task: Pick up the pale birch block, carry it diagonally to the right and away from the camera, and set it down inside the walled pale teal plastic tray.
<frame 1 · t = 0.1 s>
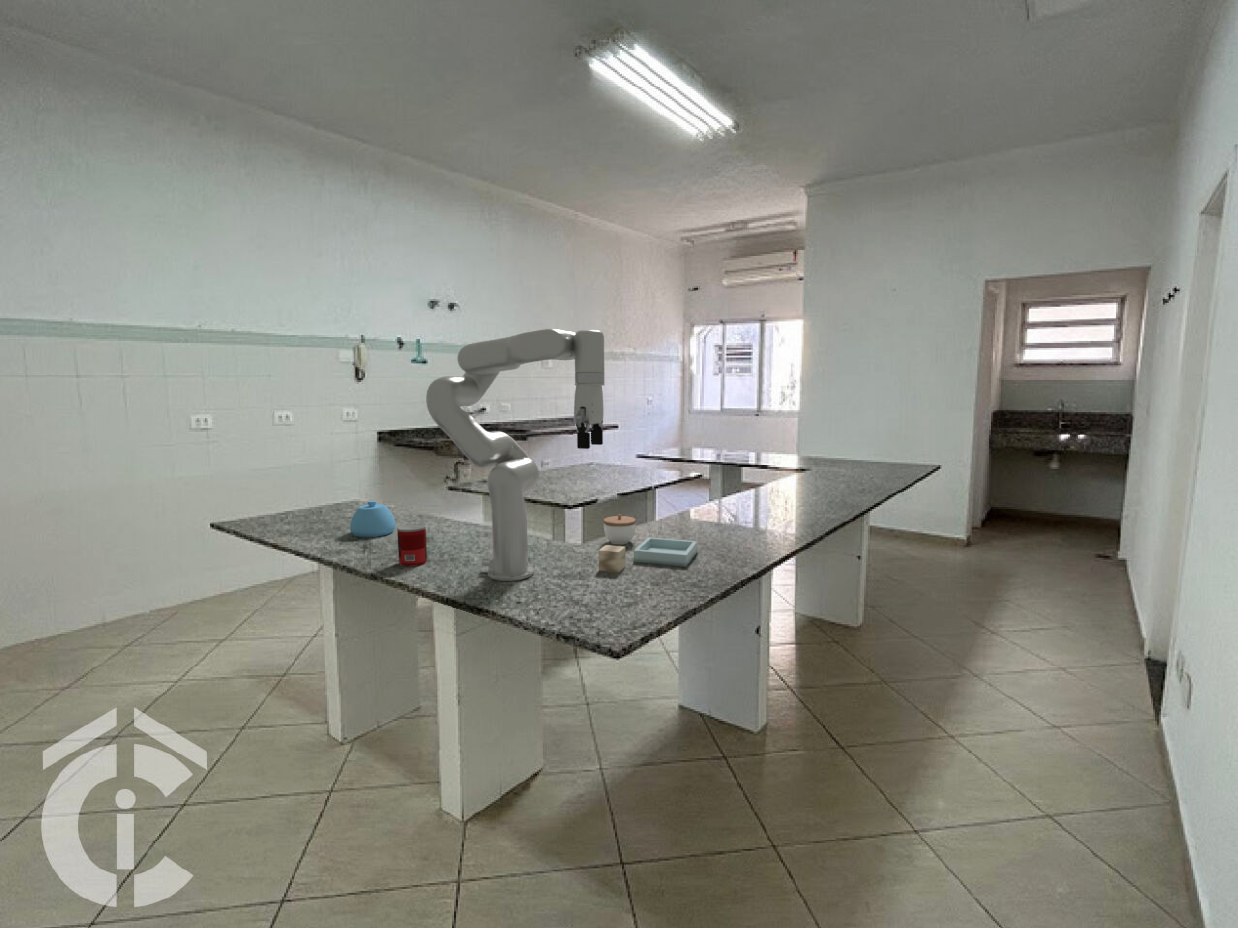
hand: (590, 446, 160), 37 cm above the countertop, tool pointing down, fingers open, 9 cm apart
sugar bowl: (373, 533, 219), on the countertop
birch block: (612, 568, 178), on the countertop
teal tray: (666, 556, 189), on the countertop
lidded jar: (619, 542, 206), on the countertop
canned food: (413, 563, 184), on the countertop
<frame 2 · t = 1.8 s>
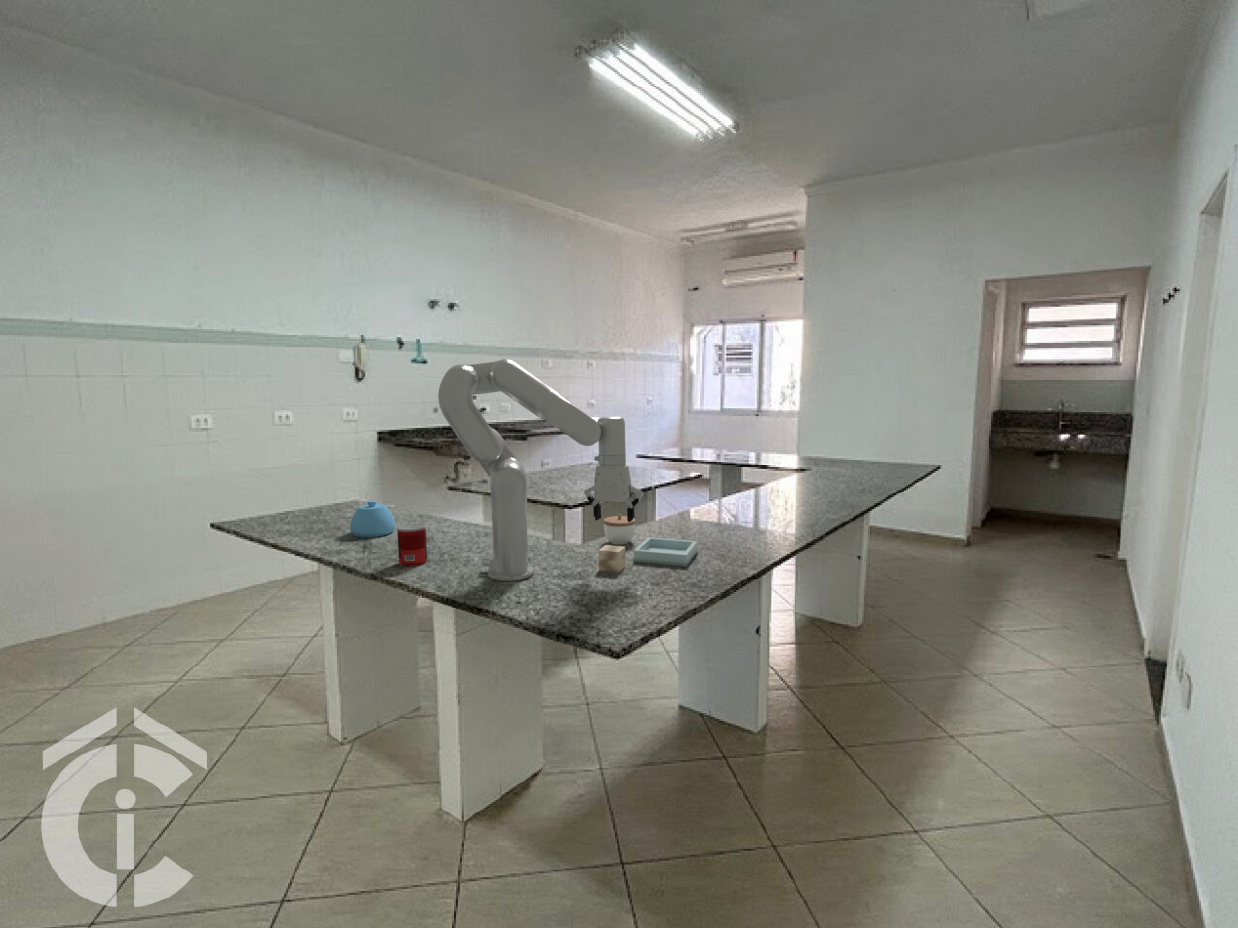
hand: (614, 520, 176), 14 cm above the countertop, tool pointing down, fingers open, 9 cm apart
nothing on the countertop moved.
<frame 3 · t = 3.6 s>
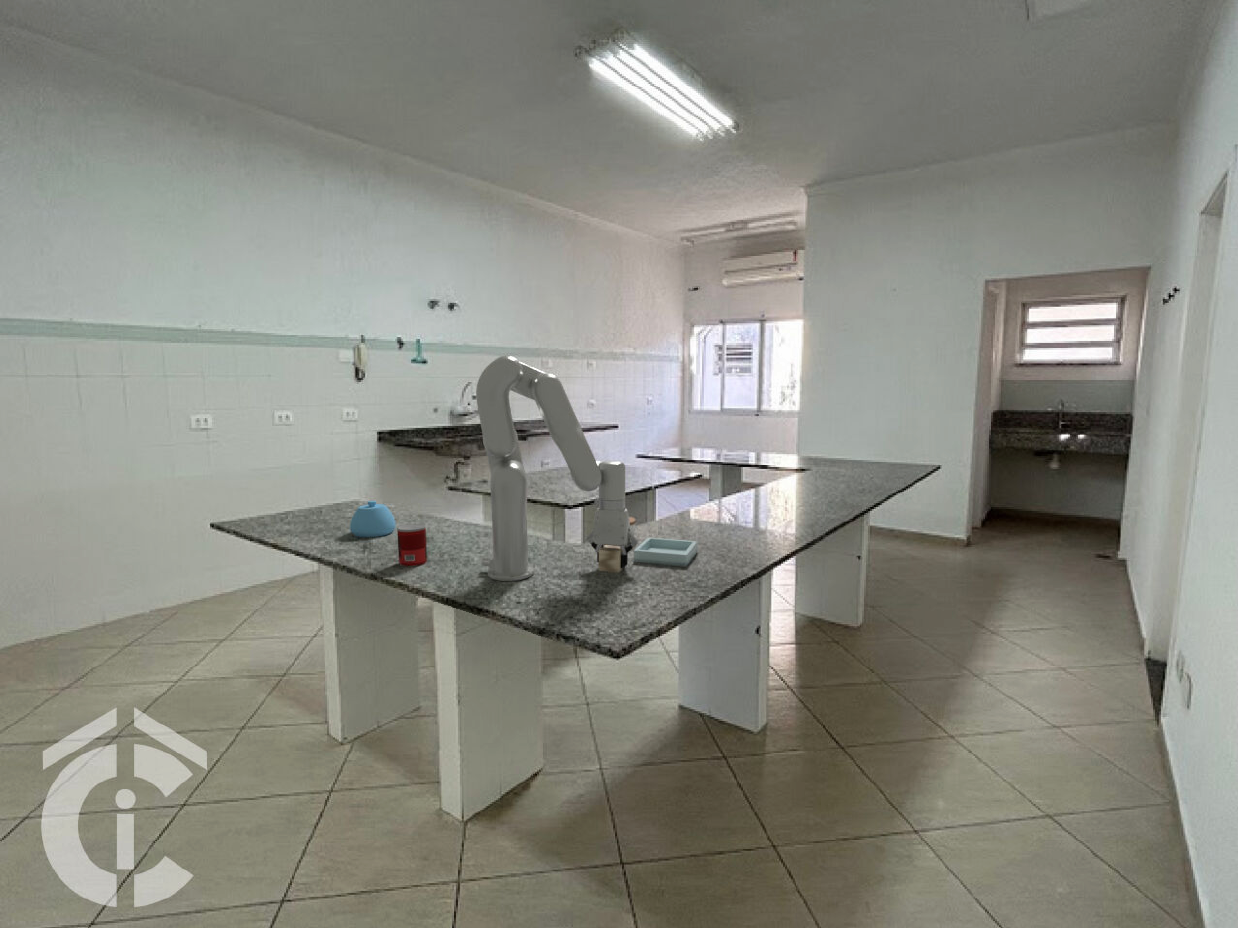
hand: (612, 565, 178), 1 cm above the countertop, tool pointing down, fingers closed on birch block, 6 cm apart
birch block: (612, 568, 178), on the countertop, touching gripper
everything else where it was.
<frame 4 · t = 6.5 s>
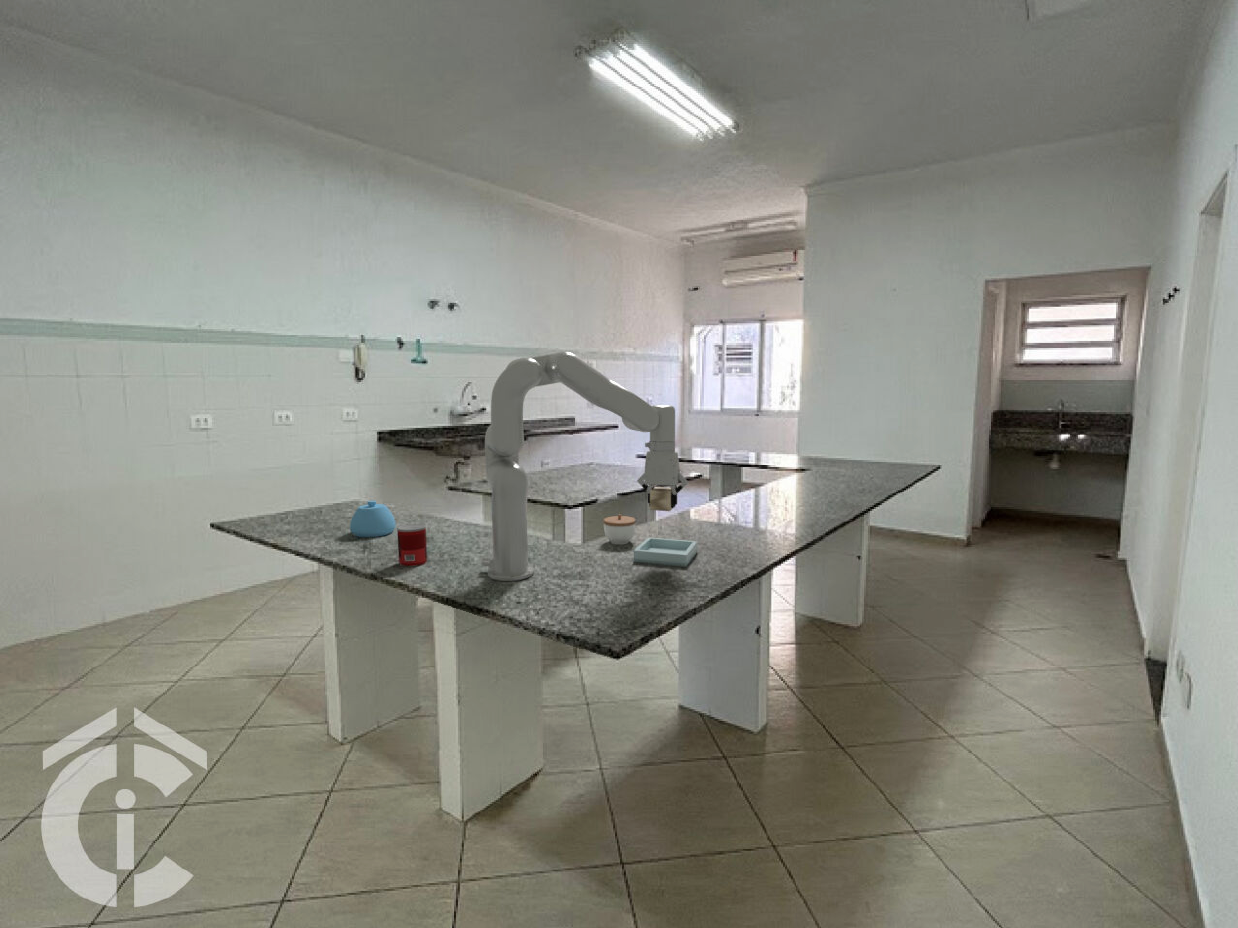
hand: (662, 505, 186), 16 cm above the countertop, tool pointing down, fingers closed on birch block, 6 cm apart
birch block: (662, 508, 186), point 15 cm above the countertop, touching gripper
everything else where it was.
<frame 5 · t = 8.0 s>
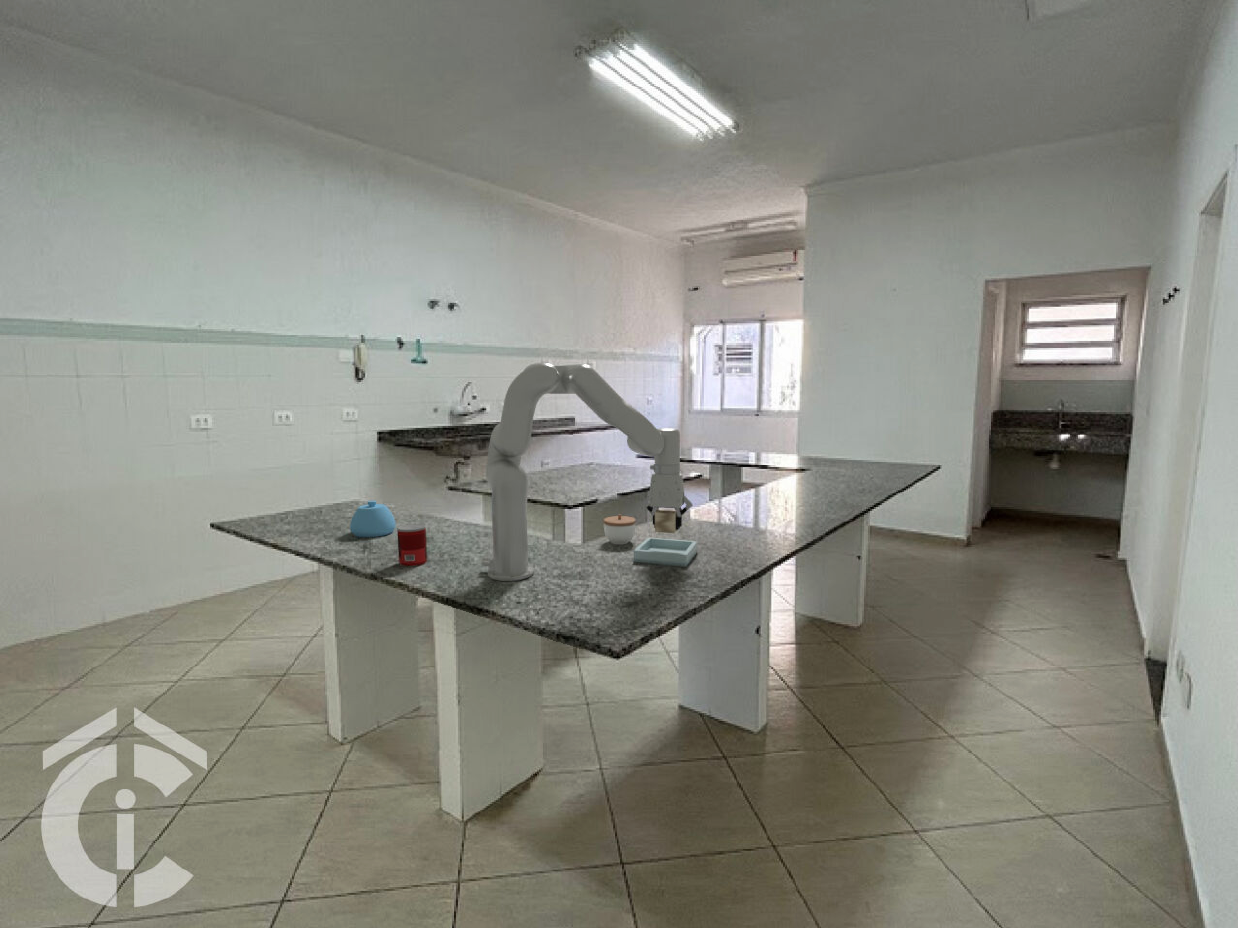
hand: (667, 527, 188), 9 cm above the countertop, tool pointing down, fingers closed on birch block, 6 cm apart
birch block: (667, 530, 188), point 8 cm above the countertop, touching gripper
everything else where it was.
when the fingers open (4 cm above the countertop, at t = 9.4 s): birch block drops 2 cm, resting on teal tray.
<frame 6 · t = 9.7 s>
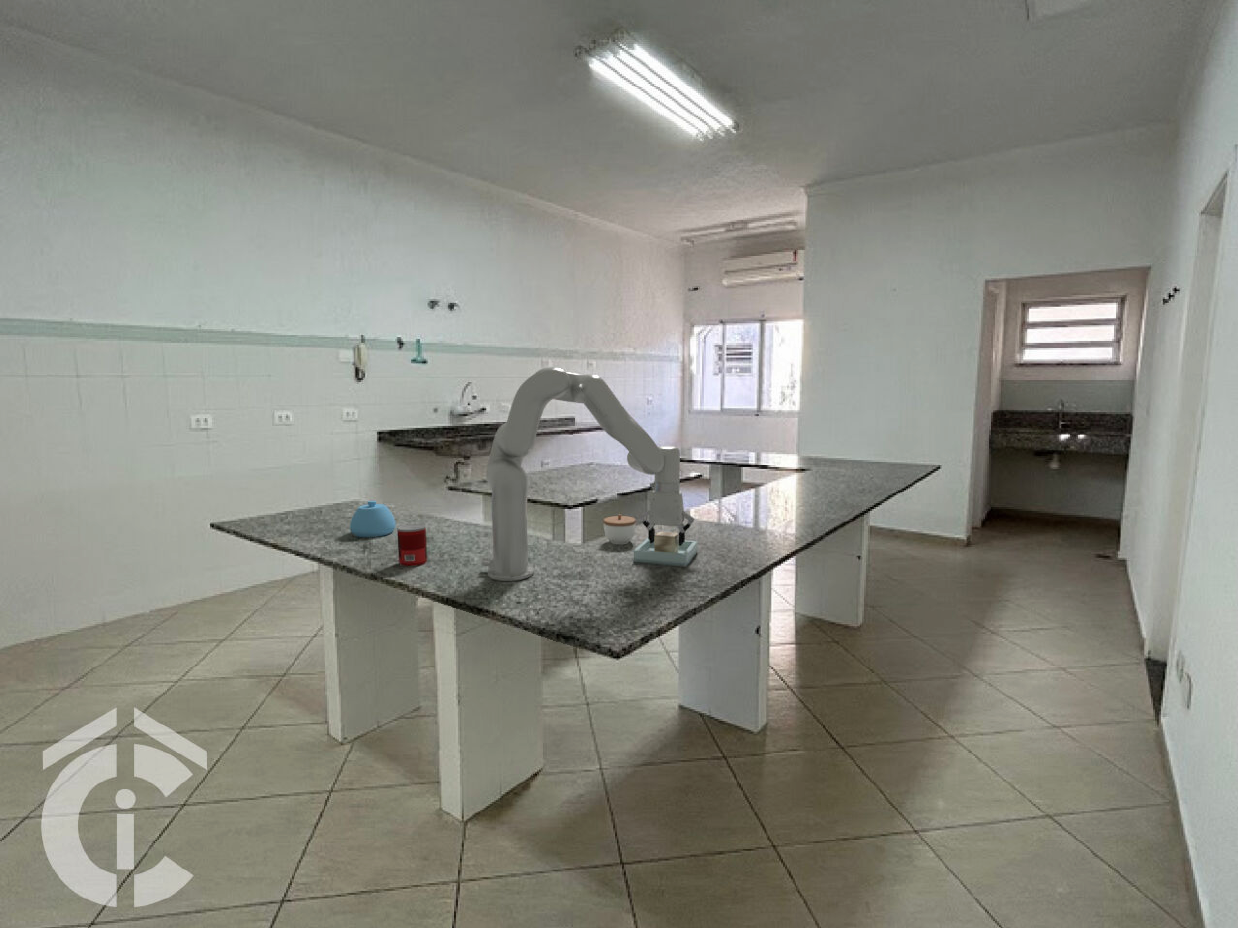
hand: (666, 543, 188), 4 cm above the countertop, tool pointing down, fingers open, 8 cm apart
birch block: (666, 553, 189), point 1 cm above the countertop, touching teal tray
everything else where it was.
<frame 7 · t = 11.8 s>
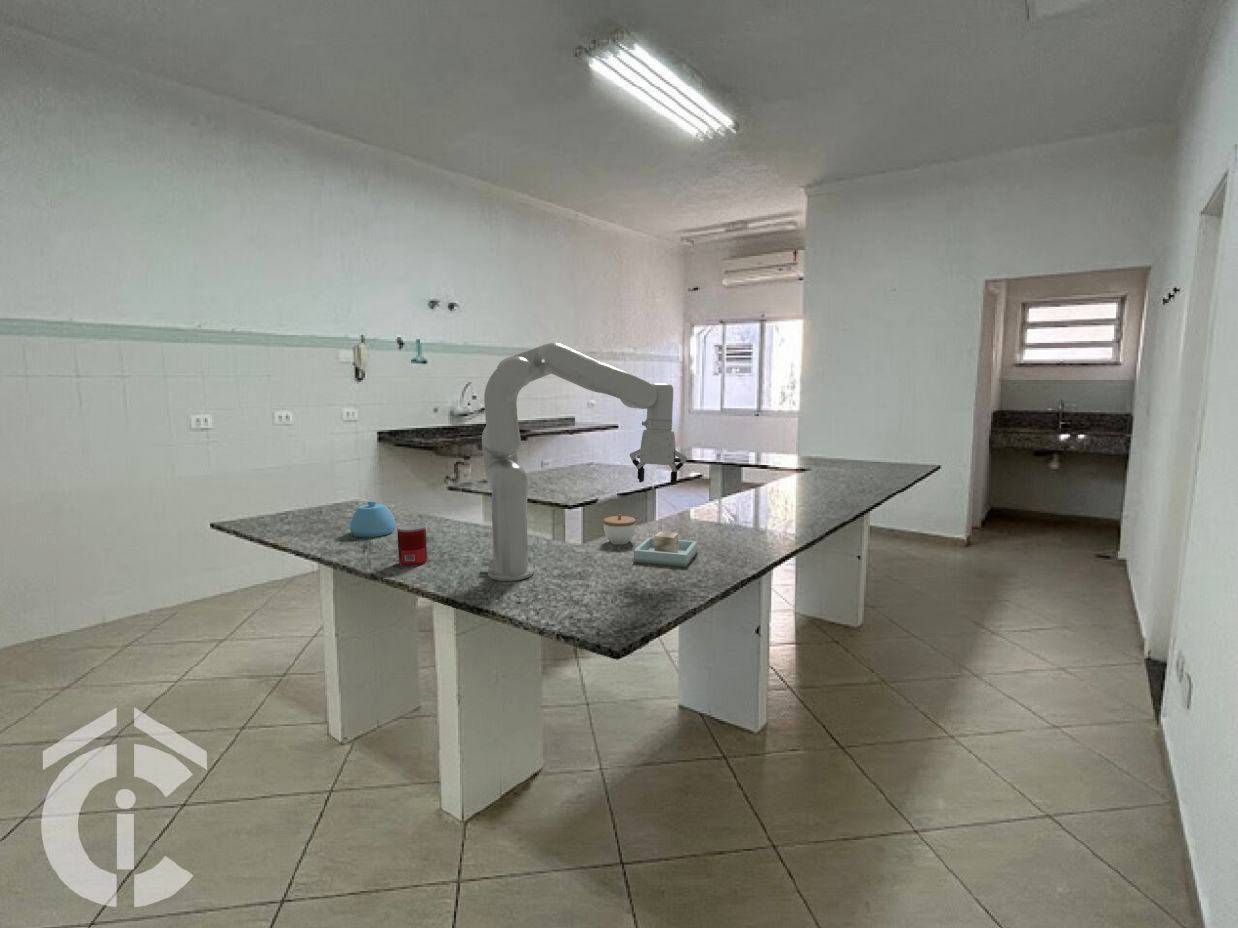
hand: (656, 483, 184), 23 cm above the countertop, tool pointing down, fingers open, 9 cm apart
nothing on the countertop moved.
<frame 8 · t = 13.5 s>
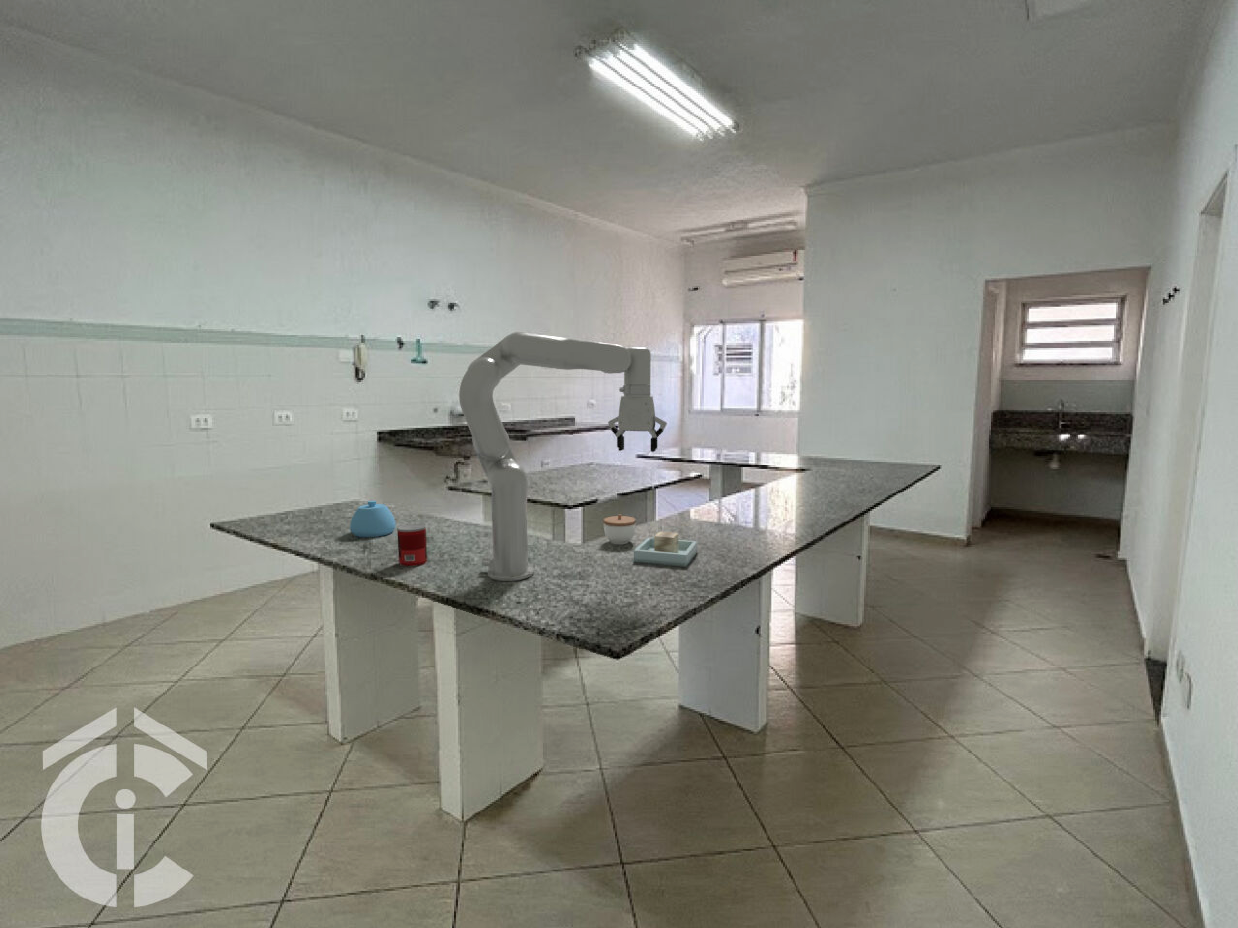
hand: (637, 450, 179), 33 cm above the countertop, tool pointing down, fingers open, 9 cm apart
nothing on the countertop moved.
at the end: birch block inside the target area on the teal tray (0.1 cm from its centre), point 1.0 cm above the teal tray's base; birch block tilted 0°; the gripper is holding nothing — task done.
